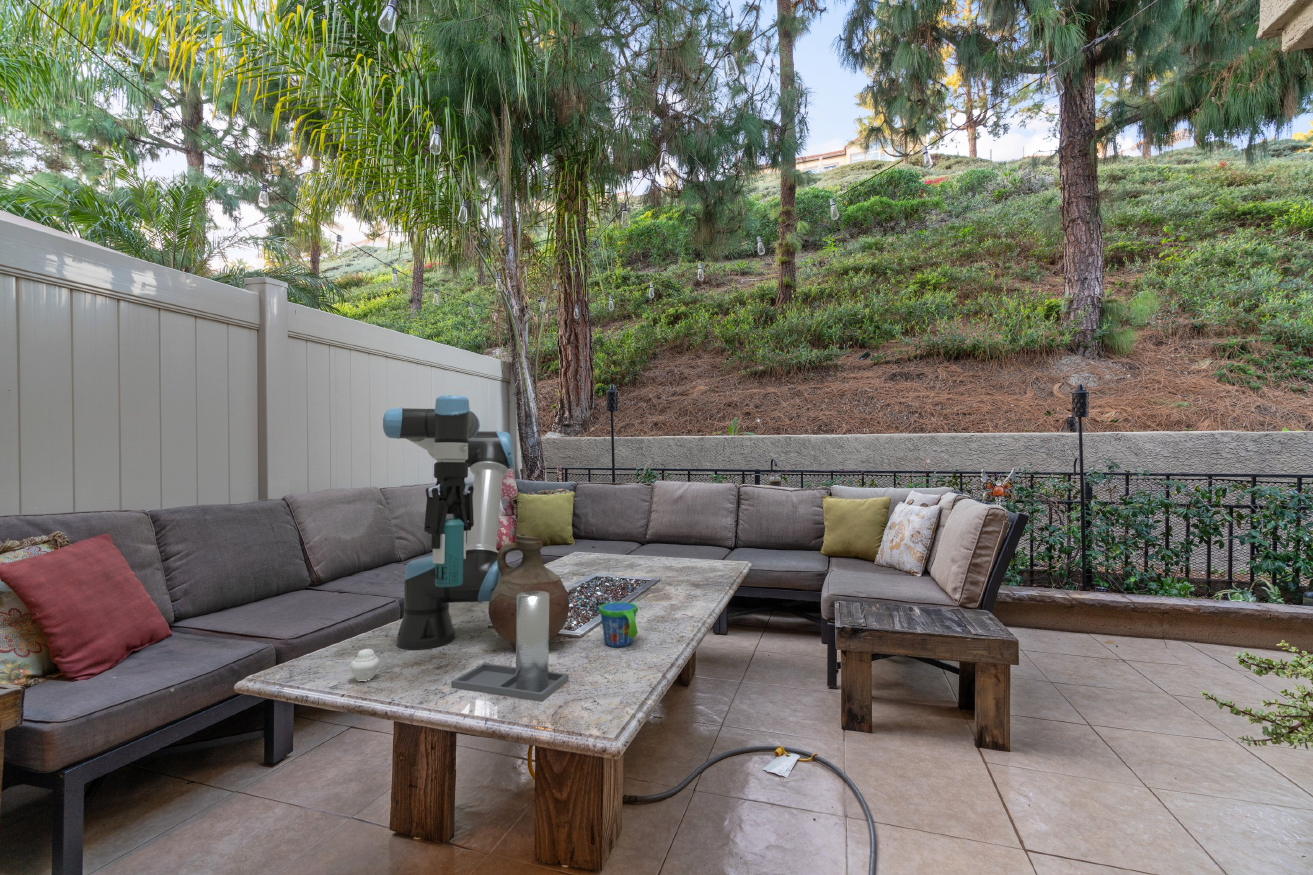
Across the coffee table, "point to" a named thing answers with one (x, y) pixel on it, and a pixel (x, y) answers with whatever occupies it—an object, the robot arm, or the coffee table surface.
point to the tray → (504, 682)
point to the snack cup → (618, 623)
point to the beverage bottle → (451, 552)
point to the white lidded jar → (365, 665)
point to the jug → (525, 589)
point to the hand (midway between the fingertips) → (449, 560)
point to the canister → (532, 641)
